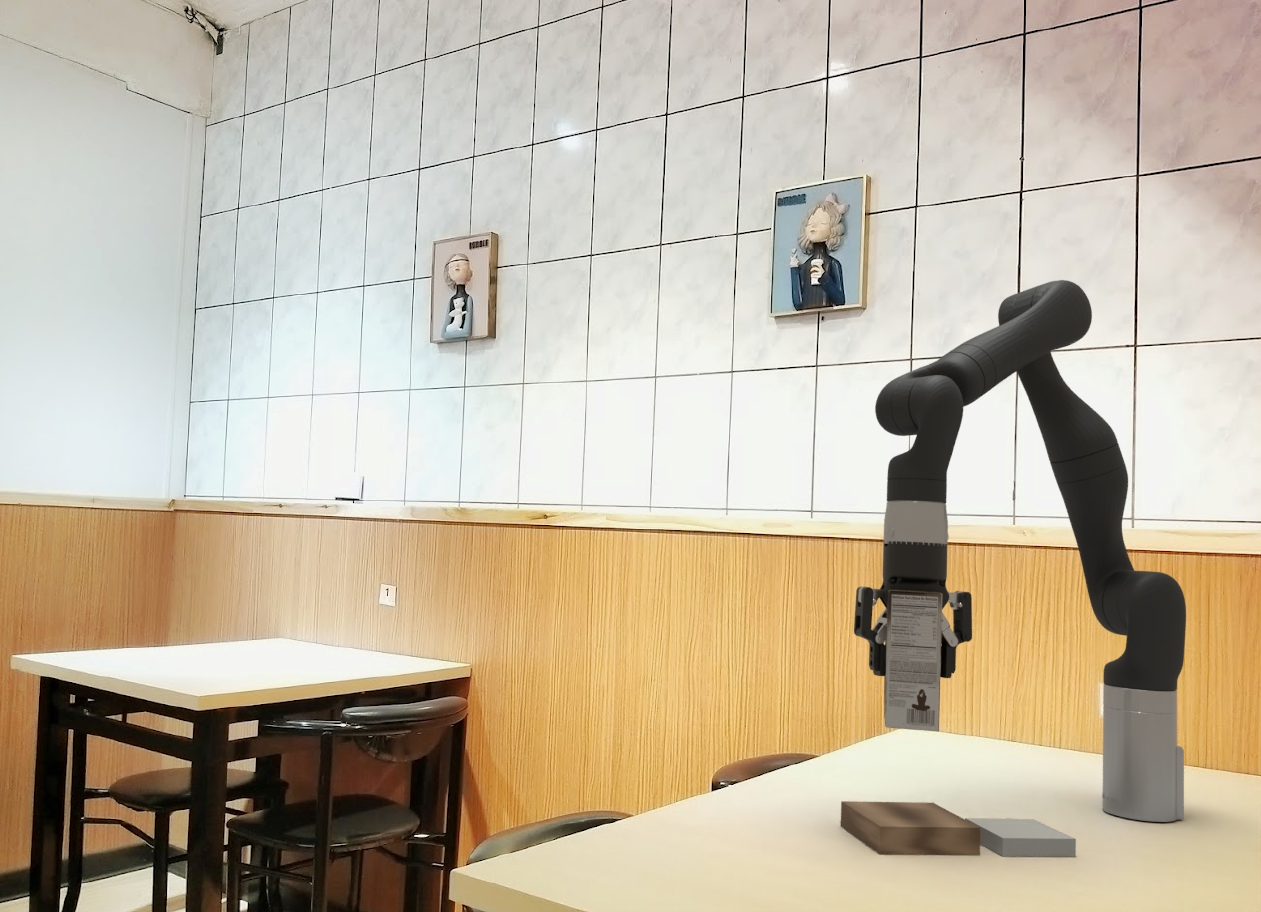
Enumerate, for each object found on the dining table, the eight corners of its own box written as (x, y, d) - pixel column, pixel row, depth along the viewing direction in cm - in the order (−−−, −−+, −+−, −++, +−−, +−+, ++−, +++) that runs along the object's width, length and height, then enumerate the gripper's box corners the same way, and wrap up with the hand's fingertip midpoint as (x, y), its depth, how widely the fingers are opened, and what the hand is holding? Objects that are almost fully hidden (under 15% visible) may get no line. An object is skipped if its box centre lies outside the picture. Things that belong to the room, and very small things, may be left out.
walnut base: (932, 827, 131) (933, 802, 131) (979, 854, 119) (980, 827, 119) (840, 826, 129) (841, 801, 129) (879, 854, 117) (880, 826, 117)
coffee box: (882, 717, 131) (885, 587, 133) (935, 721, 130) (938, 590, 131) (884, 728, 122) (887, 588, 124) (941, 732, 121) (944, 591, 122)
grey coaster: (1033, 835, 129) (1033, 819, 129) (1075, 856, 120) (1075, 838, 121) (964, 835, 128) (965, 818, 128) (1002, 856, 119) (1002, 838, 119)
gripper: (955, 543, 132) (953, 675, 131) (847, 537, 130) (843, 671, 129) (985, 543, 125) (982, 682, 123) (871, 536, 123) (867, 678, 121)
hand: (911, 676), depth 126 cm, fingers closed on coffee box, 8 cm apart
